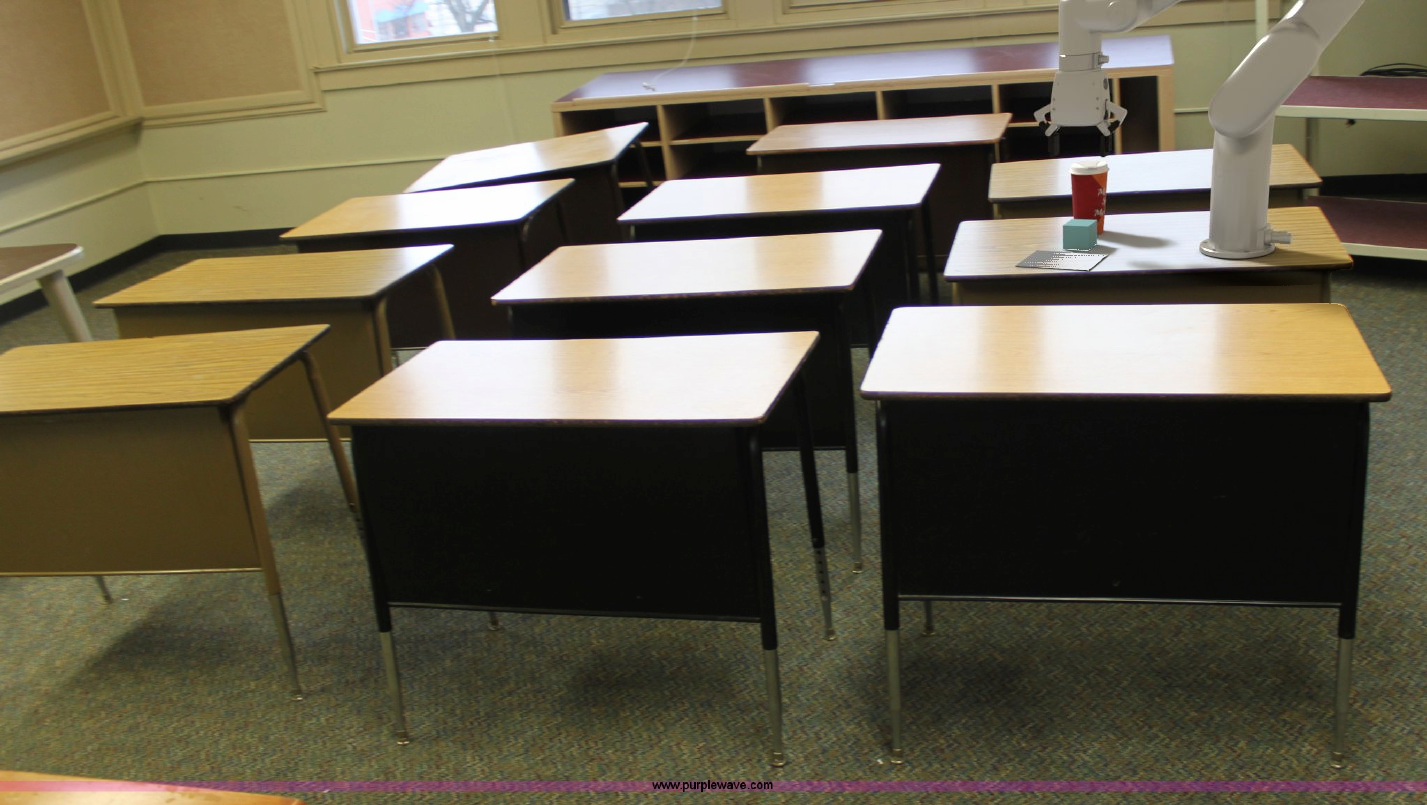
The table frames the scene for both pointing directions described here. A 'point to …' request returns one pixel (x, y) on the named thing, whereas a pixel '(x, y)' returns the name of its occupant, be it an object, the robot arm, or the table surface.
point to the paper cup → (1089, 191)
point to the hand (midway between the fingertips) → (1079, 155)
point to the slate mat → (1043, 258)
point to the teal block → (1079, 234)
